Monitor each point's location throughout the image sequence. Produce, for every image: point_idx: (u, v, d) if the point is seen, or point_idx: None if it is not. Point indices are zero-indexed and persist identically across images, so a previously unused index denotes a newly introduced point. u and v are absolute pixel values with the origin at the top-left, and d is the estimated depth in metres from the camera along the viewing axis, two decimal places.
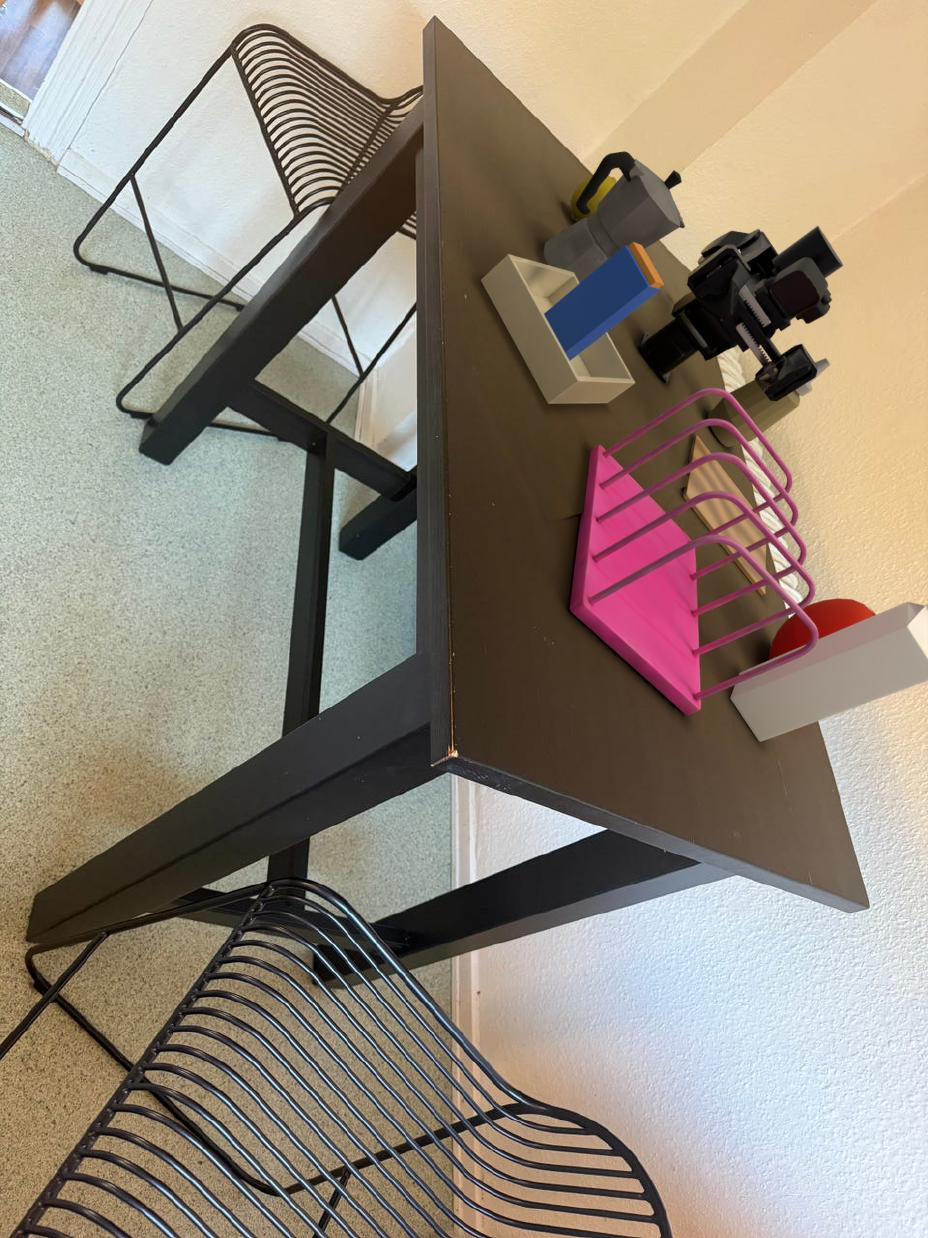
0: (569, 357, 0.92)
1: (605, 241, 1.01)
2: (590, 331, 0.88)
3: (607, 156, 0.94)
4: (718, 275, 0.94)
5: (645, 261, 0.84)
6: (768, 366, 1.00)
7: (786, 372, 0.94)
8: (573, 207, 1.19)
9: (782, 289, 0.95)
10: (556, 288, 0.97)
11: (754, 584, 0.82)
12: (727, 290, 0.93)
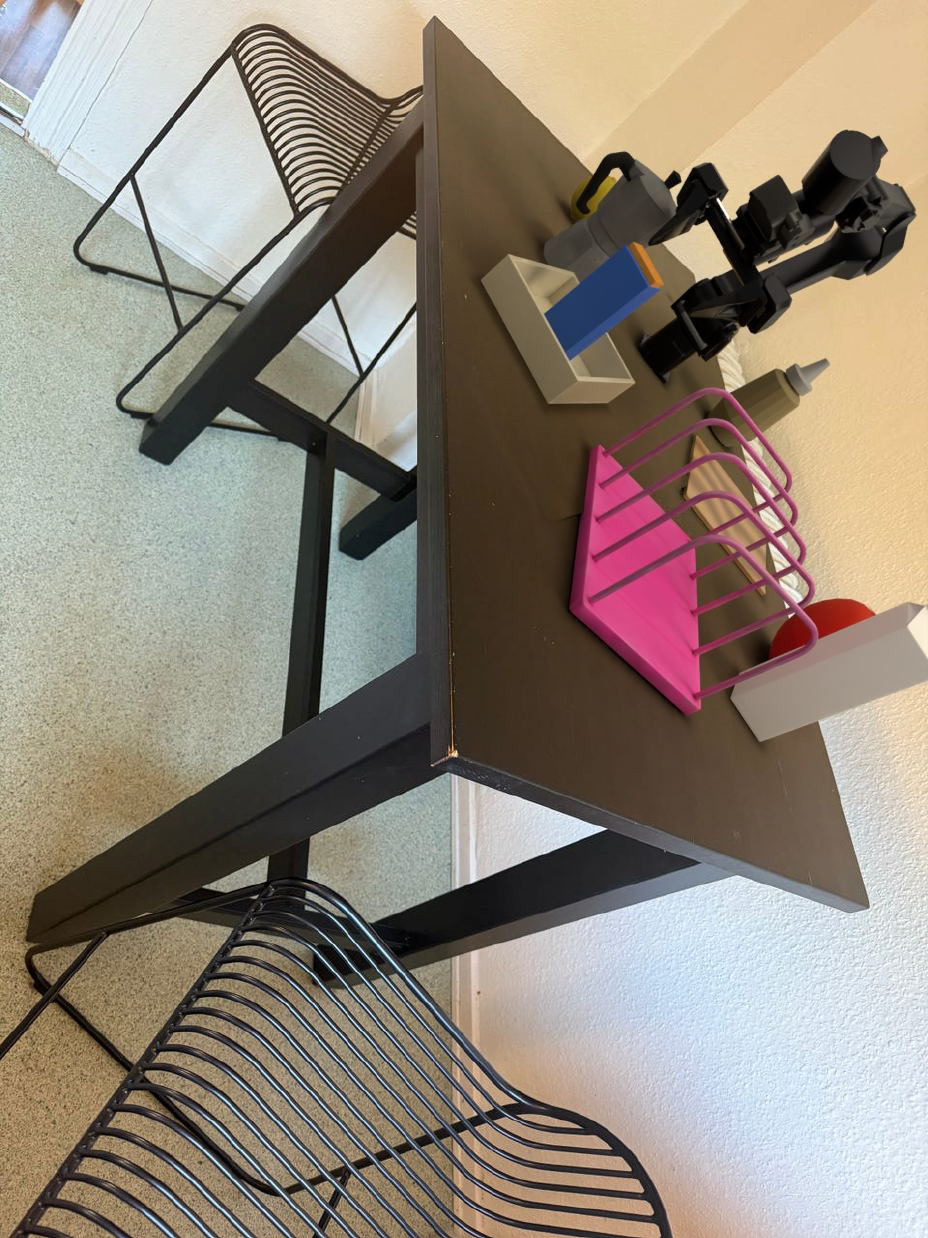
0: (569, 357, 0.92)
1: (605, 241, 1.01)
2: (590, 331, 0.88)
3: (607, 156, 0.94)
4: (686, 196, 0.93)
5: (645, 261, 0.84)
6: None
7: (718, 304, 0.90)
8: (573, 207, 1.19)
9: (754, 211, 0.89)
10: (556, 288, 0.97)
11: (754, 584, 0.82)
12: None
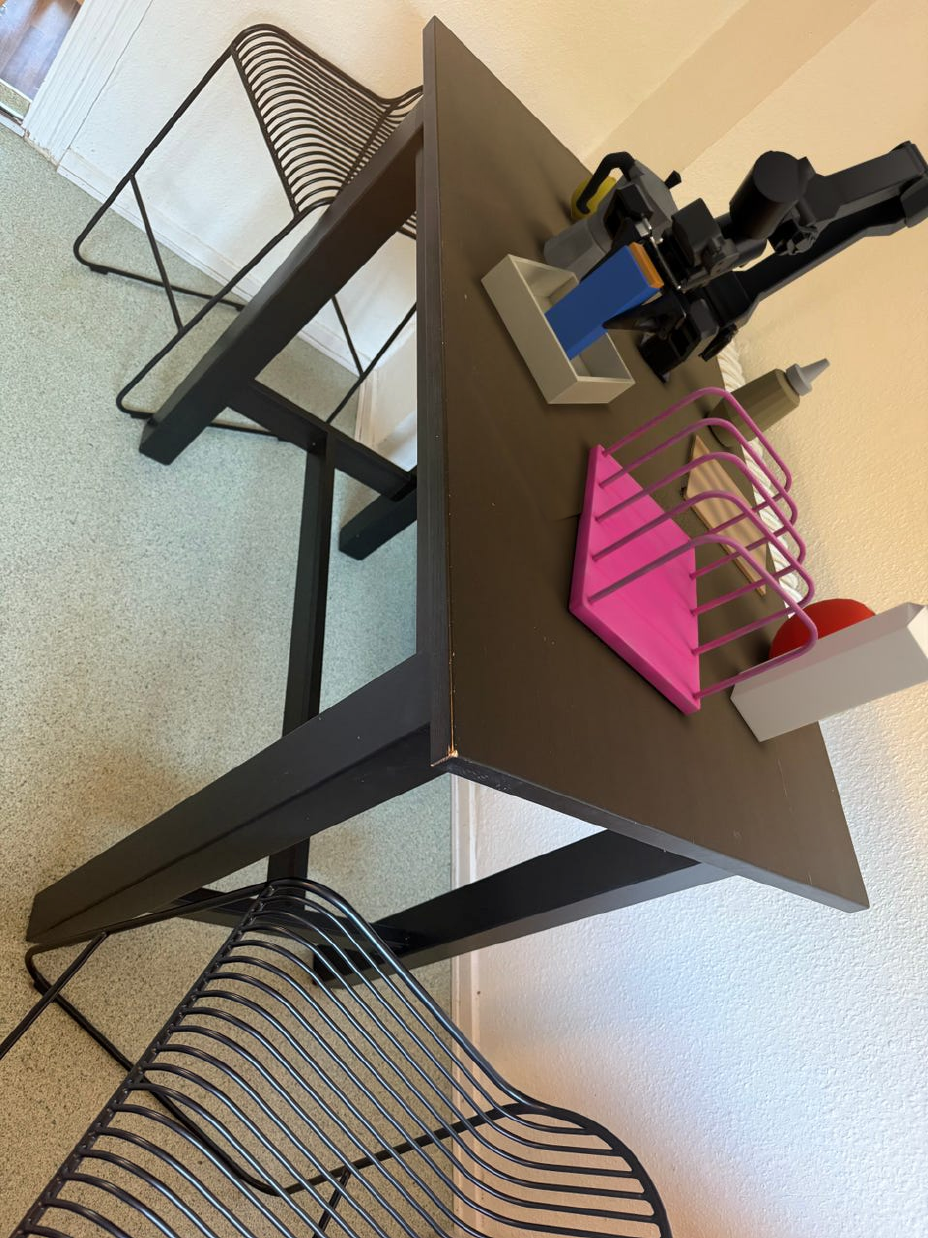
0: (569, 357, 0.92)
1: (605, 241, 1.01)
2: (590, 331, 0.88)
3: (607, 156, 0.94)
4: (619, 234, 0.88)
5: (645, 261, 0.84)
6: None
7: (633, 316, 0.87)
8: (573, 207, 1.19)
9: (678, 234, 0.85)
10: (556, 288, 0.97)
11: (753, 583, 0.82)
12: None
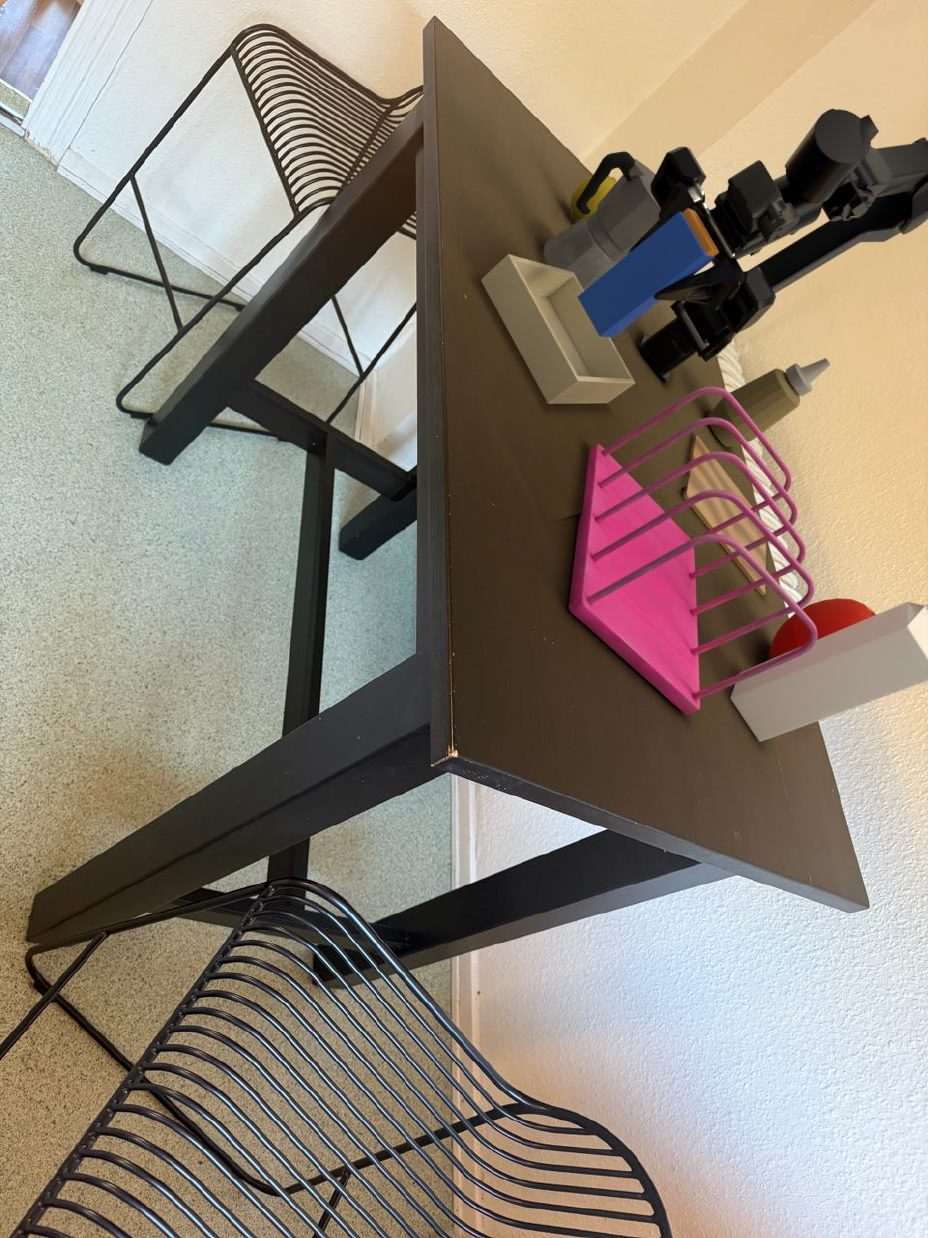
0: (617, 330, 0.89)
1: (605, 241, 1.01)
2: (641, 302, 0.85)
3: (607, 156, 0.94)
4: (669, 200, 0.85)
5: (700, 228, 0.81)
6: None
7: (686, 286, 0.83)
8: (573, 207, 1.19)
9: (733, 199, 0.81)
10: (556, 288, 0.97)
11: (753, 583, 0.82)
12: None
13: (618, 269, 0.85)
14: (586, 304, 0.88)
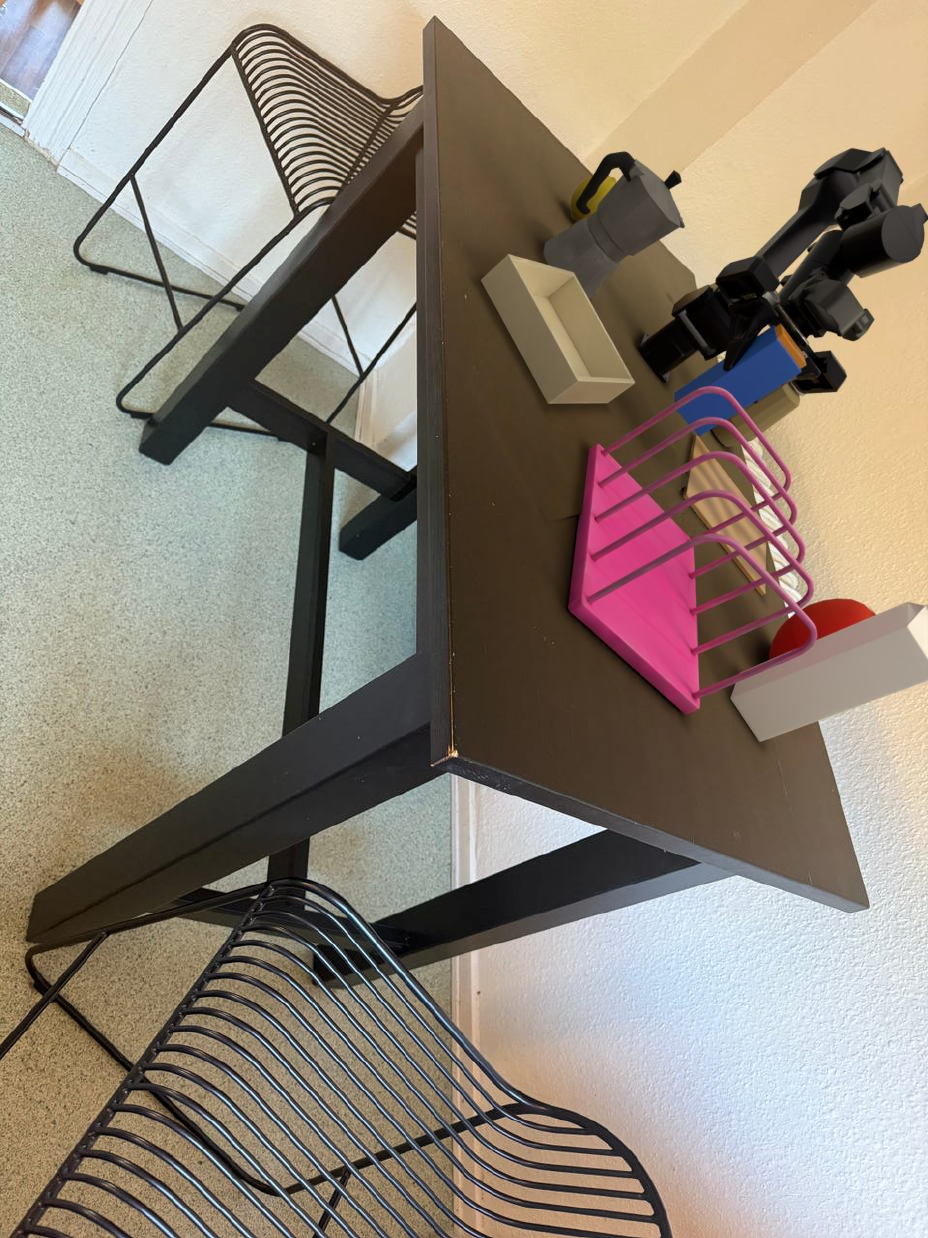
0: None
1: (605, 241, 1.01)
2: None
3: (607, 156, 0.94)
4: (747, 305, 0.91)
5: (794, 347, 0.89)
6: None
7: (777, 387, 0.94)
8: (573, 207, 1.19)
9: (813, 307, 0.89)
10: (556, 288, 0.97)
11: (753, 583, 0.82)
12: None
13: (716, 385, 0.93)
14: (684, 413, 0.96)
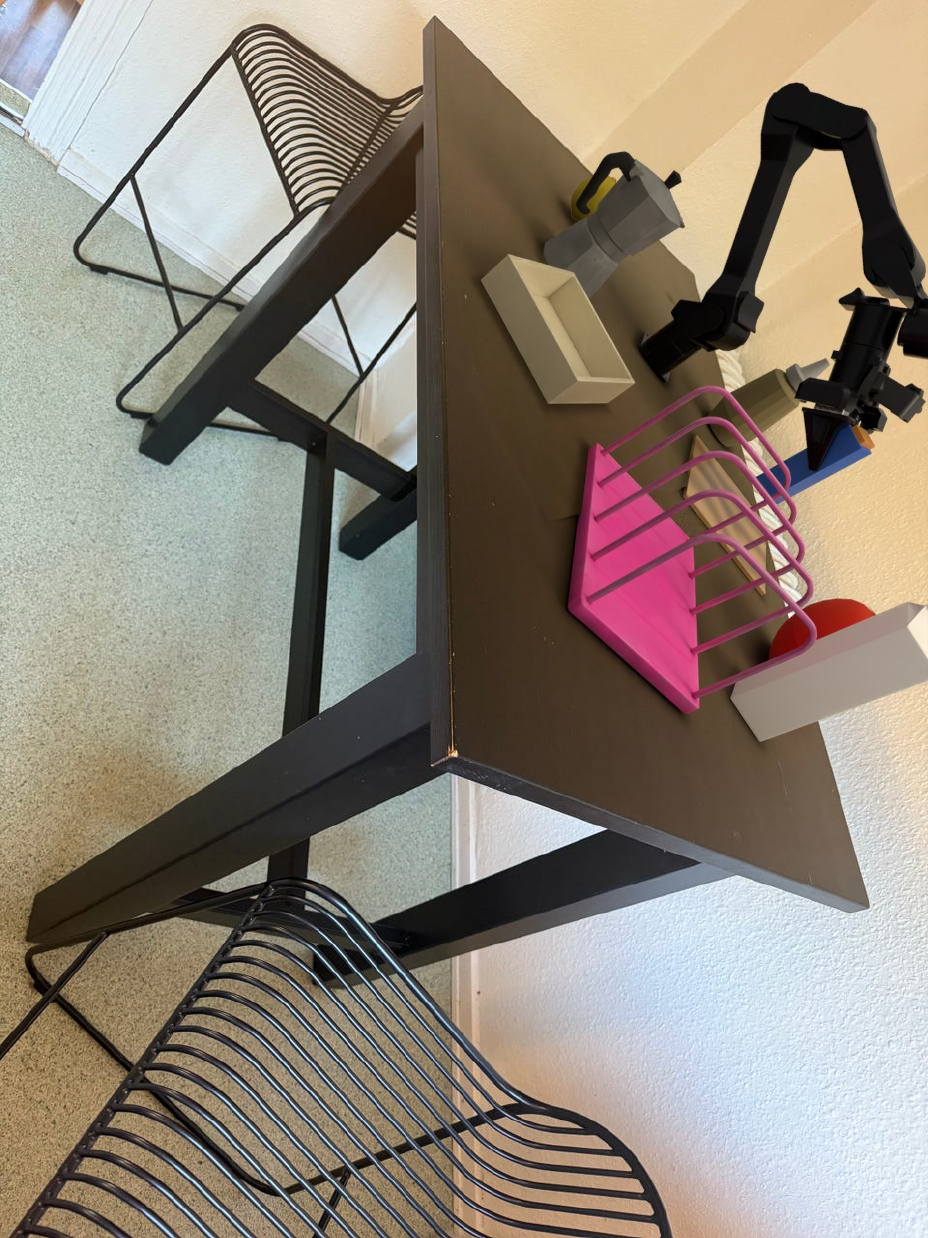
0: None
1: (605, 241, 1.01)
2: (815, 483, 1.08)
3: (607, 156, 0.94)
4: (827, 416, 1.00)
5: (869, 441, 1.02)
6: None
7: None
8: (573, 207, 1.19)
9: None
10: (556, 288, 0.97)
11: (752, 582, 0.82)
12: (829, 427, 1.01)
13: (803, 481, 1.05)
14: None
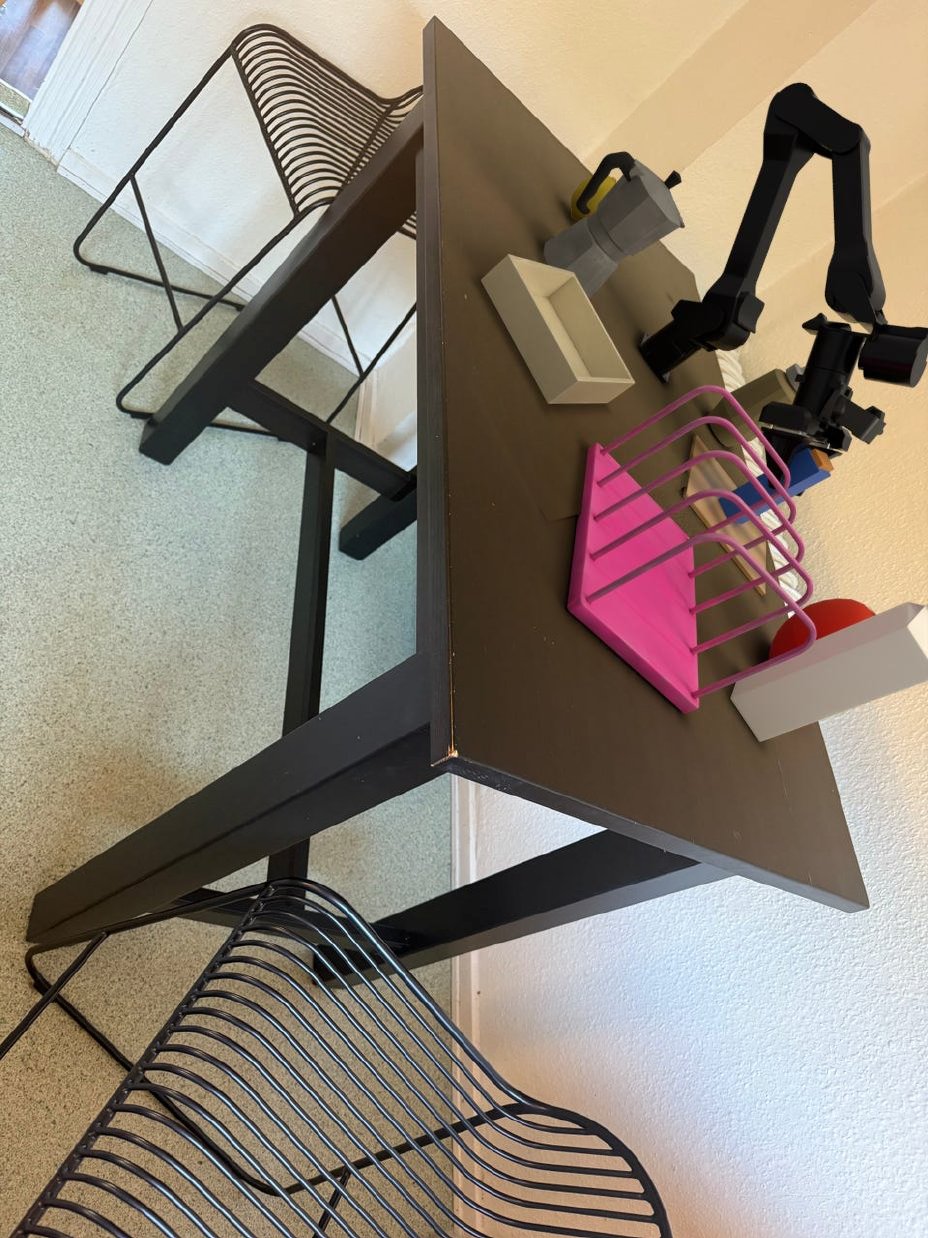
0: None
1: (605, 241, 1.01)
2: (778, 504, 1.11)
3: (607, 156, 0.94)
4: (785, 436, 1.01)
5: (827, 464, 1.05)
6: None
7: None
8: (573, 207, 1.19)
9: None
10: (556, 288, 0.97)
11: (752, 582, 0.82)
12: (787, 447, 1.03)
13: None
14: None
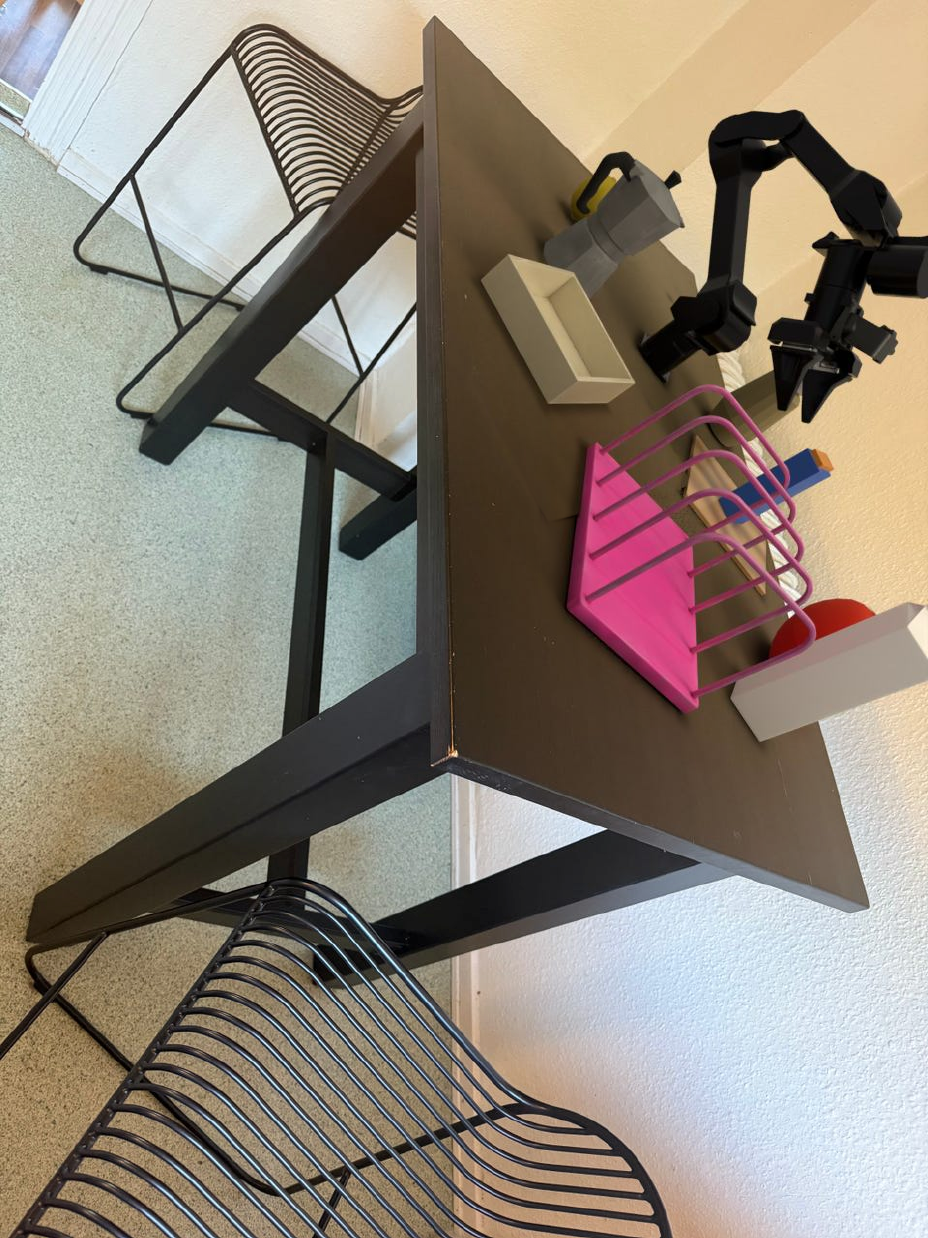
0: None
1: (605, 241, 1.01)
2: (778, 504, 1.11)
3: (607, 156, 0.94)
4: (794, 353, 0.99)
5: (827, 464, 1.05)
6: None
7: (822, 404, 1.09)
8: (573, 207, 1.19)
9: None
10: (556, 288, 0.97)
11: (751, 581, 0.82)
12: (797, 366, 1.00)
13: None
14: (735, 520, 1.12)
